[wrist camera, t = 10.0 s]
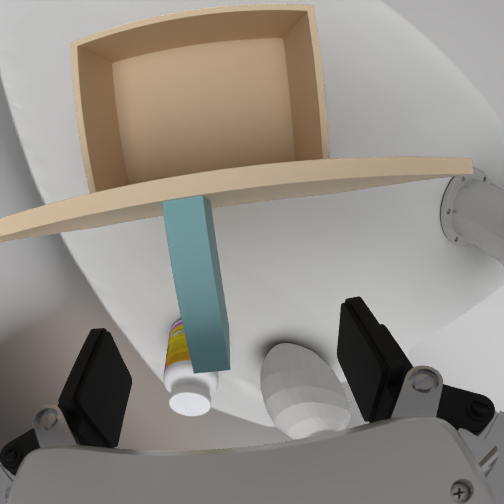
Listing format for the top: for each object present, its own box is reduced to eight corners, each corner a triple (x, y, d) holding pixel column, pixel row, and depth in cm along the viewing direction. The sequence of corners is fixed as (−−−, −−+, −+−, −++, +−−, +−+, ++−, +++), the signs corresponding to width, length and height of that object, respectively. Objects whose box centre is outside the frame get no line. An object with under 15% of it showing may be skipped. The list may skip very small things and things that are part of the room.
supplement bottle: (163, 319, 40) (151, 389, 28) (210, 310, 40) (210, 382, 28) (178, 353, 43) (172, 423, 31) (221, 346, 43) (225, 417, 31)
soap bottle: (238, 361, 45) (261, 522, 21) (273, 322, 42) (323, 496, 18) (306, 386, 49) (349, 517, 26) (341, 353, 47) (404, 488, 23)
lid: (471, 158, 9) (475, 314, 9) (334, 186, 24) (341, 257, 25) (-50, 236, 7) (-14, 376, 8) (93, 221, 23) (105, 290, 24)
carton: (286, 33, 27) (313, 3, 18) (299, 168, 33) (330, 186, 24) (108, 59, 25) (70, 40, 16) (126, 192, 32) (96, 220, 23)
